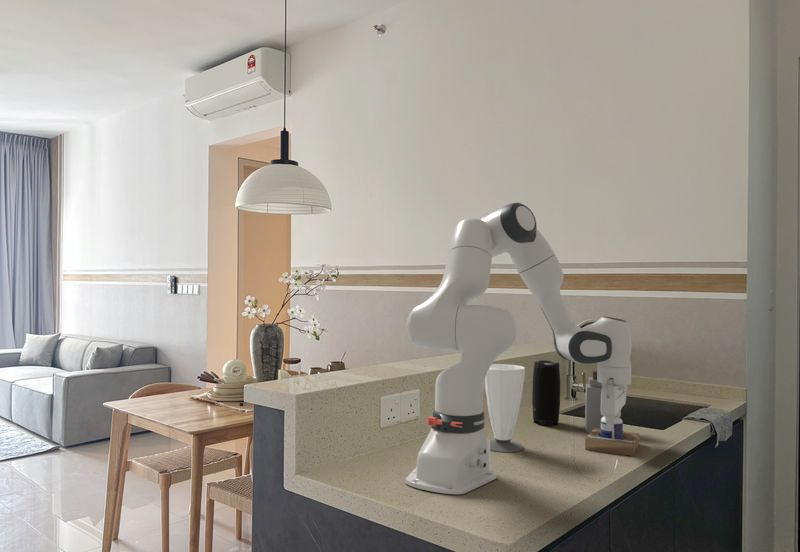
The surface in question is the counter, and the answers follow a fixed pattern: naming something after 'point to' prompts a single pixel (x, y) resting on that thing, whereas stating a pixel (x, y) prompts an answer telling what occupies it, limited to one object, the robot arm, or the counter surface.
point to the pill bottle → (618, 428)
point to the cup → (504, 404)
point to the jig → (612, 443)
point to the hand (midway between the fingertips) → (613, 426)
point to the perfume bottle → (593, 404)
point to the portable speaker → (546, 392)
